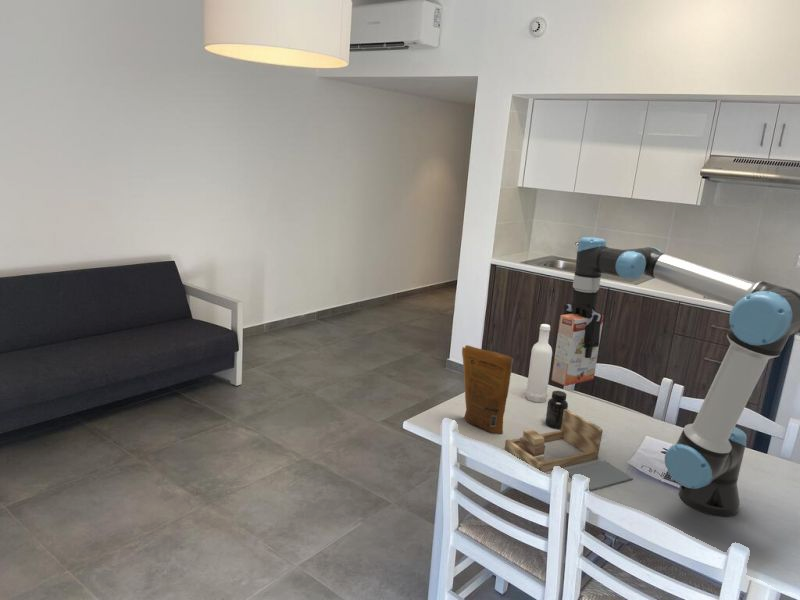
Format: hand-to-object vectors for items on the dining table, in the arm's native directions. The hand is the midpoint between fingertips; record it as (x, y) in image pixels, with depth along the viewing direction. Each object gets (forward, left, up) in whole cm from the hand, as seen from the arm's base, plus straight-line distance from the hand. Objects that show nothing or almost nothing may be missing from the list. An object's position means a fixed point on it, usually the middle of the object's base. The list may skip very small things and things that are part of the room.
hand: (575, 363), depth 181 cm
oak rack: (+2, +3, -31) cm, 31 cm away
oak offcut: (+1, +12, -25) cm, 27 cm away
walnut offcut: (+2, +12, -28) cm, 30 cm away
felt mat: (-14, -1, -31) cm, 34 cm away
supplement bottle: (+18, -13, -31) cm, 38 cm away
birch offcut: (+2, +12, -31) cm, 33 cm away
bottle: (+39, -22, -31) cm, 54 cm away
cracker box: (0, 0, -6) cm, 6 cm away
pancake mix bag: (+26, +13, -31) cm, 42 cm away
